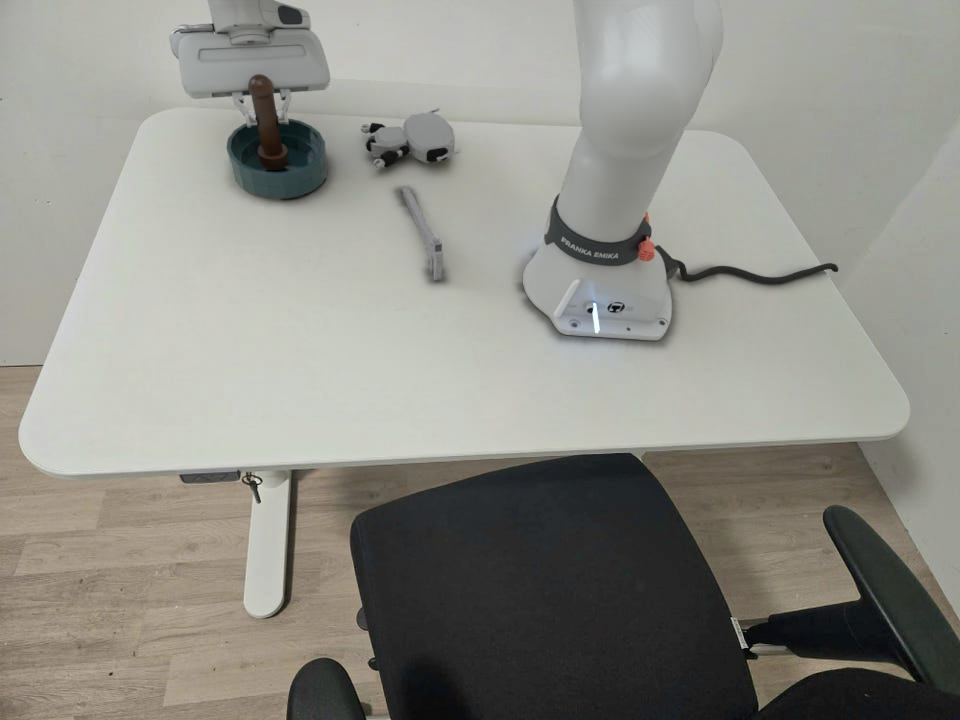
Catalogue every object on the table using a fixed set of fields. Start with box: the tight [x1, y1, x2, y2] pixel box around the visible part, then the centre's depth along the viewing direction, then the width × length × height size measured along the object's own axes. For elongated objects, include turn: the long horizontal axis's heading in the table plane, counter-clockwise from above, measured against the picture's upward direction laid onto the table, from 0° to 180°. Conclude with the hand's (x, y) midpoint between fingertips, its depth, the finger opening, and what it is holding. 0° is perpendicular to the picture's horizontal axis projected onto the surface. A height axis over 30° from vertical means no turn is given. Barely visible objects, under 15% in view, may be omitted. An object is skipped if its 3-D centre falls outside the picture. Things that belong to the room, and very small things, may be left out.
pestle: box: [248, 74, 289, 170], centre depth 84 cm, size 4×4×14 cm
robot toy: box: [360, 107, 461, 169], centre depth 97 cm, size 12×4×15 cm
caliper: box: [400, 187, 444, 281], centre depth 85 cm, size 20×1×6 cm, turn 18°
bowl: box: [226, 117, 328, 200], centre depth 89 cm, size 14×14×5 cm
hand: (268, 125), depth 84 cm, fingers closed on pestle, 3 cm apart
